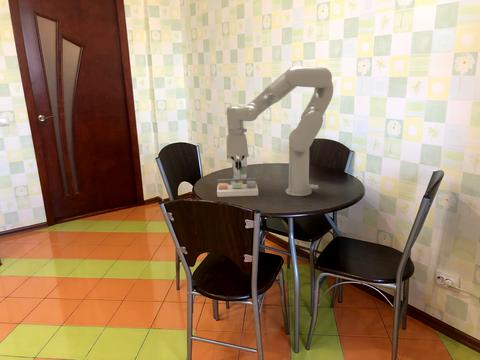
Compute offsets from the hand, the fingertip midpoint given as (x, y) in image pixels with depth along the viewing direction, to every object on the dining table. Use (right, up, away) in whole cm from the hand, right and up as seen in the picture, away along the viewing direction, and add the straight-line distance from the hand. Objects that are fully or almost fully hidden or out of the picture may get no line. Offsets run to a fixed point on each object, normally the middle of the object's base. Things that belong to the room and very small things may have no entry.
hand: (238, 169), depth 185 cm
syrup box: (+1, -7, +21) cm, 22 cm away
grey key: (+6, -8, +2) cm, 10 cm away
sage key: (-1, -9, +2) cm, 9 cm away
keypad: (-1, -12, +3) cm, 12 cm away
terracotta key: (-8, -9, +2) cm, 12 cm away
